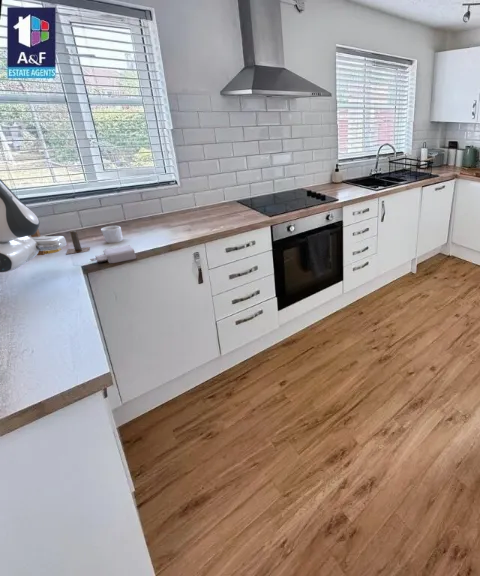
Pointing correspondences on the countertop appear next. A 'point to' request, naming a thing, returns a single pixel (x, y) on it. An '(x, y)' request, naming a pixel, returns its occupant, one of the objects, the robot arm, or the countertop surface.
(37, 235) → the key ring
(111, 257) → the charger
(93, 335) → the countertop surface
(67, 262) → the countertop surface
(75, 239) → the stand
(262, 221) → the countertop surface
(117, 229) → the cup
